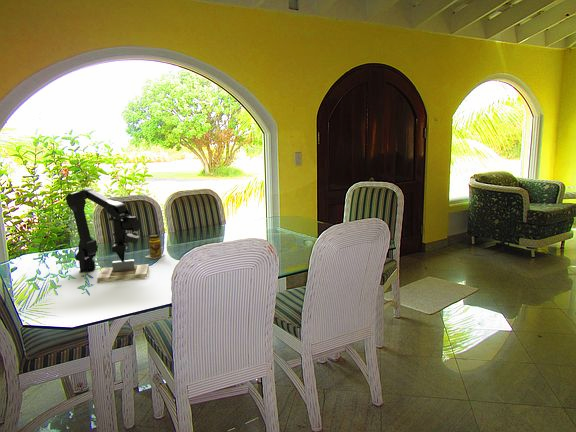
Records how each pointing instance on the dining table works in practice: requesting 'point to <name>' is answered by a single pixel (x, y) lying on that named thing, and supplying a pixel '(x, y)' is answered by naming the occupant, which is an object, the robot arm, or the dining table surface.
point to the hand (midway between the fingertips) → (122, 261)
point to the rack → (123, 273)
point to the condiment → (154, 247)
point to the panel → (123, 266)
